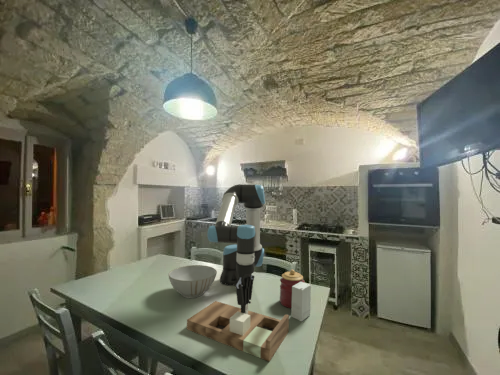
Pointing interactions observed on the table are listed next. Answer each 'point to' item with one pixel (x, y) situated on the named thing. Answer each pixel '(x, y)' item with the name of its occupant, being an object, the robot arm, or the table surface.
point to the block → (240, 323)
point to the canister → (288, 287)
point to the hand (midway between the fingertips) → (244, 319)
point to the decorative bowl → (192, 279)
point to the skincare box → (301, 301)
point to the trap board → (253, 341)
